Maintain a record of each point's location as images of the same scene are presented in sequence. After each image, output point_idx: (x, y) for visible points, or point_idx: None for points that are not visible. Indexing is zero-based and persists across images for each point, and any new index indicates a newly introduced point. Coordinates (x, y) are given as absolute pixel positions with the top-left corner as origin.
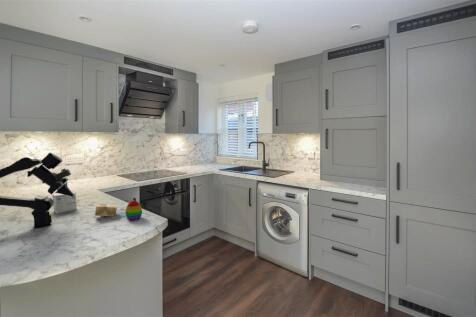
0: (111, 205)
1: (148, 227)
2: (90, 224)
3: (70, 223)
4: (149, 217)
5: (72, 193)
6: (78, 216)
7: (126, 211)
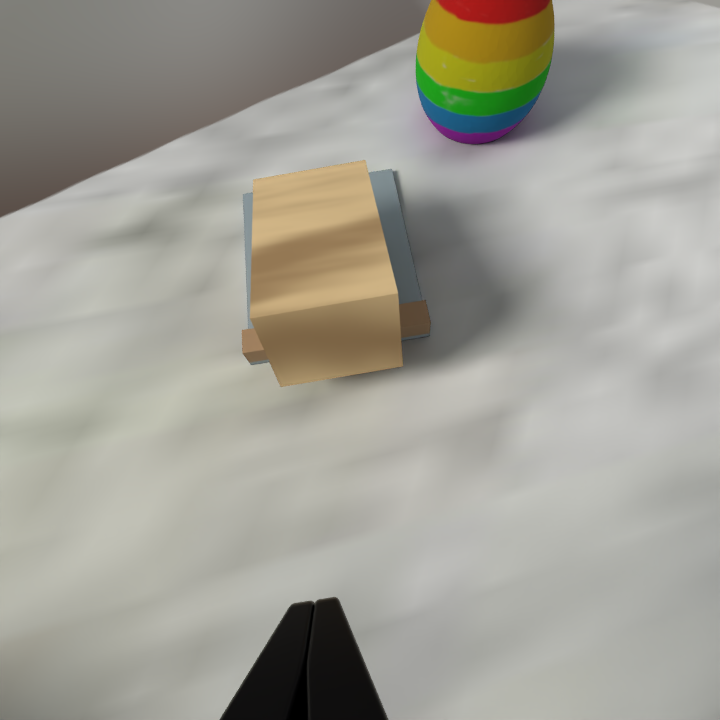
0: (293, 204)
1: (687, 28)
2: (544, 389)
3: (454, 620)
4: None
5: (317, 632)
6: (185, 608)
7: (528, 76)
